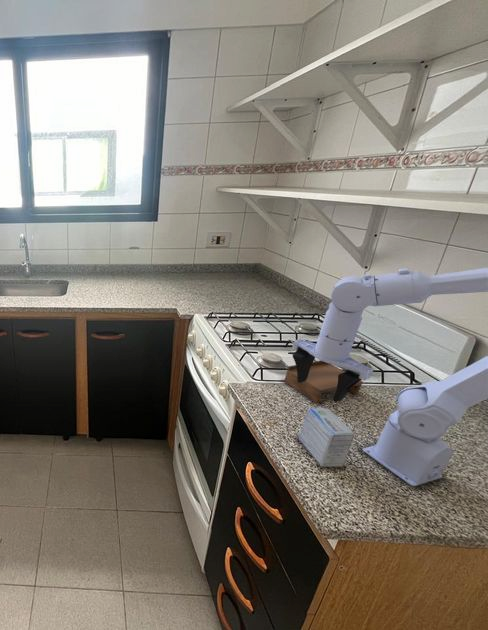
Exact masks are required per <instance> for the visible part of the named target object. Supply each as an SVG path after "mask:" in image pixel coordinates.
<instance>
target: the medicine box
mask: <svg viewBox="0 0 488 630" xmlns="http://www.w3.org/2000/svg"><path fill="white" fill-rule="evenodd" d="M355 436H356V434H355V432H354V431H352V430H351V429H350V427H349V426H348V425H346V424H345V423H344V422H343V421H342V420H341V419H340V418H339V417H338V416H337V415H336V414H335V413H334V412H333V411H332V410H331V409H330V408H328V407H327V408H325V407H312V408H311V407H310V408H309V407H308V408H307V411H306V414H305V417H304V420H303V423H302V426H301V429H300V433H299V436H298V440H299V441H300V443H301V444H302V445H303V446H304V448H305V449H306V450H307V451H308V452H309V453H310V454H311V456H312V457H313V459H315V460H316V462H317V463H318V464H319V465H320V467H322V468H323V467H325V468H326V467H327V468H330V467H331V468H332V467H333V468H334V467H343V466H344V464H345V461H346V459H347V456H348V454H349V451H350V449H351V446H352V444H353V441H354V438H355Z"/></svg>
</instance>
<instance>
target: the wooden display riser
mask: <svg viewBox="0 0 488 630" xmlns="http://www.w3.org/2000/svg"><path fill="white" fill-rule="evenodd" d="M344 372H346V370H344V369H341V368H339V367H337V366H335V365H333V364H330V363H326V362H323V361H321V360H316V361H315V360H314V361H313V363H312V365H311V367H310V371H309V374H308V377H307V379H306V381H304V382H302V383H299V382H297V368H296V364H294V365H289V366H287V370H286V374H285V377H284V381H283V382H284V383H286V384H287V385H288V386H290V387H291V388H293V389H294V390H296V391H298V392H299V393H301V394H302V395H304V396H305V397H306V398H308V399H309V400H311V401H312V402H313V403H315V404H319V403H320V401H321V398H322V395H323V393H329V392H332V391H334V392H335V391H336V389H337V384H338V375H339V374H341V373H344ZM363 383H364V380H361V381H359V382H358V383H357V384H355V385H354V386H353V387H352V388H351V389H350V390H349V391H348V392H350V393H352V394H353V395H359V393H360V390H361V388H362V385H363Z"/></svg>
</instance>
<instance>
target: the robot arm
mask: <svg viewBox="0 0 488 630" xmlns="http://www.w3.org/2000/svg"><path fill="white" fill-rule="evenodd" d="M409 269H410V268H408V267H405V268H399V269H398V272H394V273H385V274H377V275H376V274H375V275H371V273H366V274H365V273H364V274H363V275H362V277H360V276H355V275H350V276H347V277H343V278H342V279H339V280H338V281H337V282H336V283H335V284H334V286H333V289H332V292H331V301H330V303H329V304H328V309H327V310H326V312H325V315H324V319H323V322H322V324H321V328H320V331H319V334H318V338H317V341H316V343H314V342H311V341H307V340H305V339H302V338H297V339H295V340H294V341H293V344H292V347H291V348H292V349H294V350H295V351H294V352H293V353H292V358H293V360H294V363H295V364H294V365H296V368H297V382H299V383H302V382H304V381H306V379H307V377H308V374H309V371H310V367H311V365H312V363H313V362H315V359H317V360H318V361H320V360H321V361H323V362H326V363H330V364H332V365H334V366H336V367H337V368H339V369H341V370H343V371H345V372H344V373H341V374H339V375H338V384H337V389H336V390H334V394H333V396H332V401H333V402H335V403H338V402H340V401H342V400H343V399H344V397H345V395H346V394H347V393H348V392H350V391H349V390H350V389H351V388H352V387H353V386H354V385H355V384H357V383H358V382H359V381H367V380H369V379H371V376H372V375H373V372H374V369H372V368H371V367H368V366H366V365H365V364H362V363H361V362H359V361H358V360H356V359H355V358H353V357H352V356H350V354H351V351H352V349H353V345H354V343H355V339H356V337H357V334H358V331H359V328H360V326H361V323H362V320H363V317H362V315H363V313H364V310H365V309H367V308H368V307H369V306H370V307H383V306H394V305H395V306H396V305H409V304H421V303H423V302H424V301H426V300H427V299H428V298H430V297H432V296H436V295H454V294H473V293H488V267H483V268H476V269H469V270H462V271H456V272H448V273H442V274H441V273H440V274H434V275H428V274H426V273H424V272H422V271H420V270H409ZM486 400H488V355H486V356H484V357H482V358H480V359H479V360H477V361H475V362H474V363H471V364H470V365H468V366H466V367H463V368H462V369H460V370H459V371H457V372H455V373H453V374H451V375H449V376H447V377H445V378H444V379H442V380H433V381H431V380H430V381H427V382H425V383H423V384H420V385H417V386H409V387H405V388H403V389H401V390H400V391H399V392H398V393H397V396H396V403H397V409H396V411H394V412H392V413H390V414H389V416H388V418H387V420H386V422H385V424H384V427H383V429H382V431H381V434H380V436H379V438H378V439H377V441H376V444H374V445H370V446H367V447H364V448H362V452H363V453H364V454H366V455H368V456H369V457H370V458H372V459H374V460H375V461H376V462H378V463H379V464H380V465H382V466H383V467H385V468H386V469H387V470H388V471H390V472H391V473H393V474H394V475H396V476H397V477H398V478H400V479H401V480H402V481H404V482H405V483H406V484H408V485H410V486H411V487H417V486H420V485H423V484H427V483H429V482H432V481H435V480H439V479H442V478H443V472H444V470H445V468H446V467H447V465H448V464H449V462H450V460H451V459H452V457H453V454H454V448H453V447H451V446H450V445H449V444H448V443H446V441H444V440H443V439H442V437H443V436H444V435H445V434H446V433H447V431H448V430H449V429H450V428H451V427H452V426H454V425H455V424H458V423H459V422H460V421H461V420H462V418H463V417H464V416H465V414H466V412H467V410H468V409H469V408H471V407H473V406H475V405H477V404H479V403H481V402H483V401H486Z"/></svg>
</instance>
